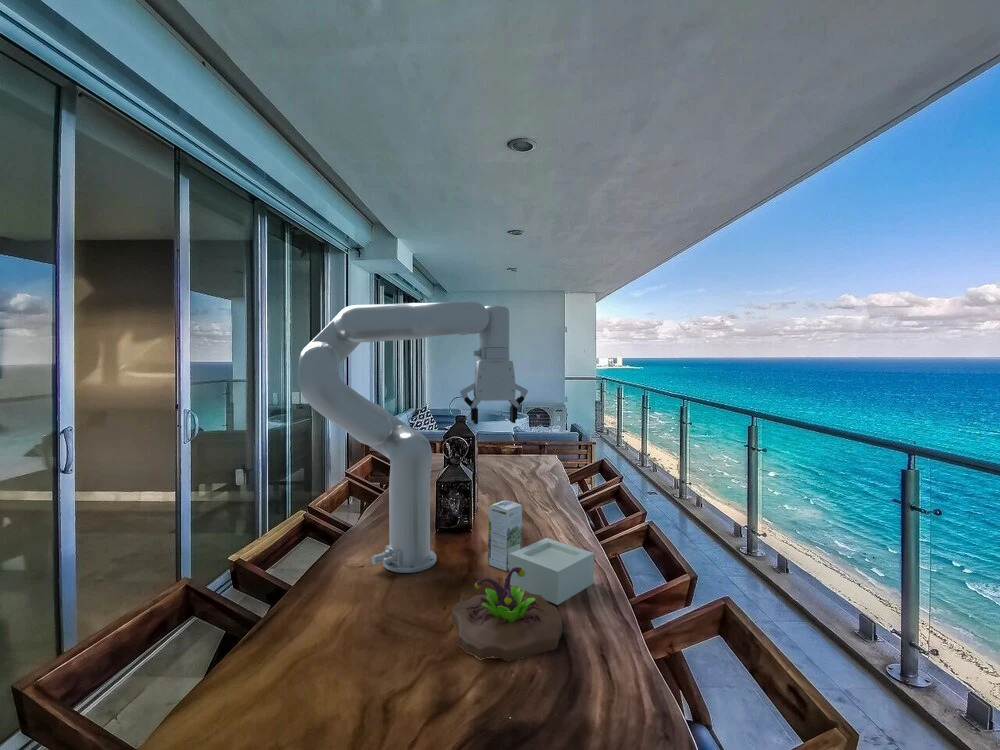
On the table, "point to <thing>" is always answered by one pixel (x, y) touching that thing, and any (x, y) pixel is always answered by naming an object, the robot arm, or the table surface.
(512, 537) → the syrup box
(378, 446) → the robot arm
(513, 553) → the sage block
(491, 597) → the plant
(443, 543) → the table surface
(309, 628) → the table surface
